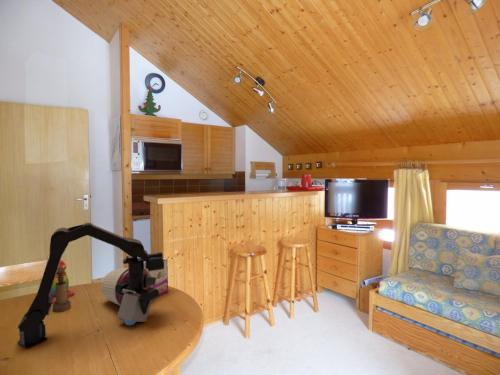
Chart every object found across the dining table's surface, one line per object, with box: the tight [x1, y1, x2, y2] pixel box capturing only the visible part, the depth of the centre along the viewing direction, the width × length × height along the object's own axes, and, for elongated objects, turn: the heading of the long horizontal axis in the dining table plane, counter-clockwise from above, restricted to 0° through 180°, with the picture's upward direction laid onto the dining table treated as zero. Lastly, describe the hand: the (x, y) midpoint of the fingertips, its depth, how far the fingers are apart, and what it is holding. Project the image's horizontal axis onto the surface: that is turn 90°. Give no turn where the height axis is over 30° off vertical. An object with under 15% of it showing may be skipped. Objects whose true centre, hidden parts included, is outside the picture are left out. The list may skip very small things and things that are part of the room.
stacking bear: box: [50, 259, 75, 304], centre depth 139 cm, size 11×10×18 cm
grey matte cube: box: [116, 293, 153, 323], centre depth 119 cm, size 8×8×9 cm
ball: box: [123, 319, 137, 326], centre depth 117 cm, size 5×5×5 cm
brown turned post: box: [52, 267, 72, 313], centre depth 129 cm, size 7×6×18 cm
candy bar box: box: [144, 257, 169, 296], centre depth 144 cm, size 11×5×16 cm, turn 148°
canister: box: [101, 267, 152, 307], centre depth 134 cm, size 18×18×21 cm
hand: (137, 311), depth 120 cm, fingers closed on grey matte cube, 8 cm apart
